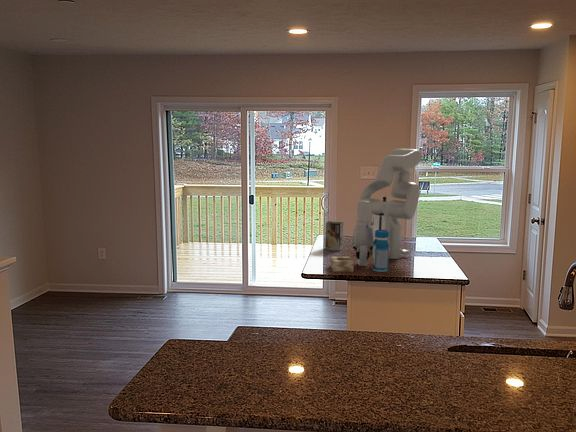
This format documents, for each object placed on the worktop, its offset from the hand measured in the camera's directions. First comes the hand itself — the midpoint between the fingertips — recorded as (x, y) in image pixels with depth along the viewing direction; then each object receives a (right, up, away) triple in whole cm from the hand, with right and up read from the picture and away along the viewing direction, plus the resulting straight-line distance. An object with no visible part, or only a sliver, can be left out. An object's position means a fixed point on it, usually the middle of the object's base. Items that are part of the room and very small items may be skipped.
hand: (362, 258), depth 263 cm
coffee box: (-12, +2, +35) cm, 37 cm away
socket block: (-12, -4, -8) cm, 15 cm away
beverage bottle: (+7, -5, -9) cm, 13 cm away
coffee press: (+18, +4, +49) cm, 53 cm away
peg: (0, -3, +1) cm, 3 cm away
